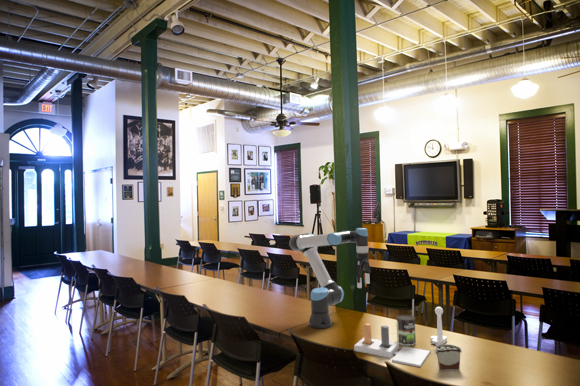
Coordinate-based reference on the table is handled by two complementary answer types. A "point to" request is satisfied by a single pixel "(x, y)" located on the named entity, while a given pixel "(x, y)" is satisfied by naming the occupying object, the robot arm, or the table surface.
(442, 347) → the food container
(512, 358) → the table surface
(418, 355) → the lid
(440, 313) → the joystick
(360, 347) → the housing
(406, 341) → the coffee can
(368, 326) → the jaw pin orange
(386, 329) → the ball
